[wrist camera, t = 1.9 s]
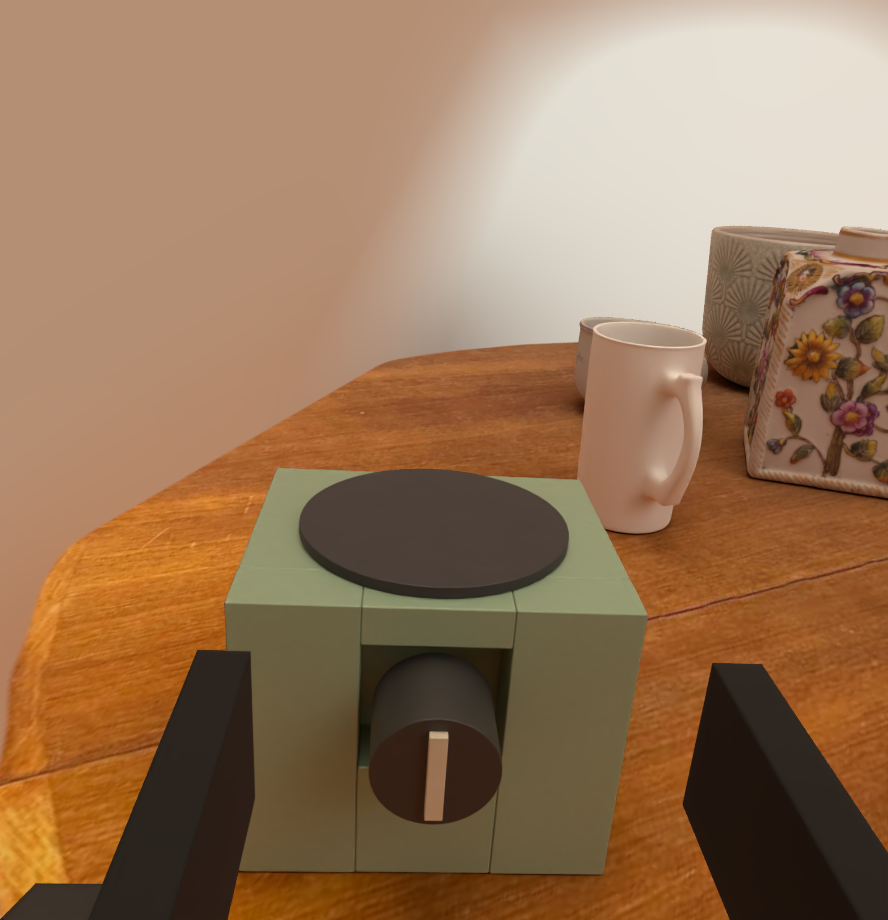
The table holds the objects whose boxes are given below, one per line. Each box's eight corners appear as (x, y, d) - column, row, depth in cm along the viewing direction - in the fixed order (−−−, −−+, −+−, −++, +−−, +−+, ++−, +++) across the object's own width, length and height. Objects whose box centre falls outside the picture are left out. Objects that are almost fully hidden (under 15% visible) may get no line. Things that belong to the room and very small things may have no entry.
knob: (366, 831, 22) (369, 724, 21) (370, 748, 25) (374, 650, 24) (497, 833, 23) (509, 727, 21) (487, 751, 26) (496, 653, 24)
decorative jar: (740, 431, 72) (783, 217, 65) (886, 452, 69) (946, 230, 62) (744, 479, 61) (796, 229, 55) (917, 507, 58) (994, 245, 52)
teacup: (553, 395, 79) (562, 311, 76) (658, 394, 81) (671, 313, 78) (611, 447, 66) (625, 349, 63) (732, 444, 69) (751, 350, 66)
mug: (554, 495, 56) (574, 321, 52) (641, 489, 58) (669, 321, 54) (623, 566, 47) (655, 363, 43) (724, 557, 49) (765, 361, 45)
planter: (797, 417, 77) (835, 249, 71) (654, 372, 89) (677, 226, 84) (887, 394, 86) (927, 245, 81) (747, 356, 99) (773, 225, 93)
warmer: (235, 871, 27) (223, 589, 23) (280, 680, 36) (276, 457, 32) (603, 875, 27) (651, 602, 23) (553, 686, 37) (581, 469, 33)
